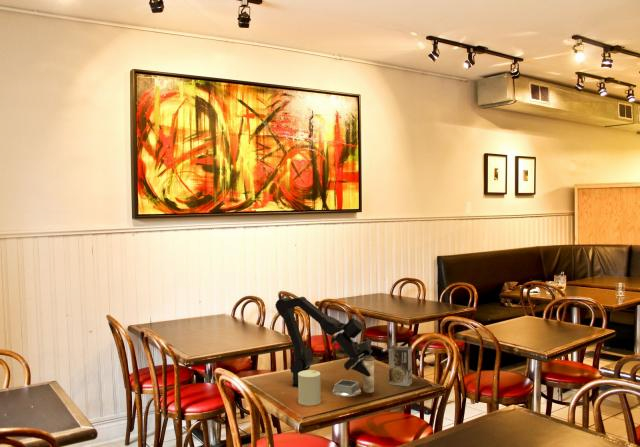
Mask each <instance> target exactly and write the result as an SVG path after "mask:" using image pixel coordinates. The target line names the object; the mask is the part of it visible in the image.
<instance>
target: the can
mask: <svg viewBox="0 0 640 447" xmlns="http://www.w3.org/2000/svg"><path fill="white" fill-rule="evenodd" d="M297 398H298V400H297V402H298V404H299V405H301V406H305V407H306V406H307V407H311V406H316V405H319V404H321V402H322V399H321V372H320V371H318V370H313V369H307V370H305V371H301V372H299V373H298V397H297Z"/></svg>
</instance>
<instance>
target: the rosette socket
mask: <svg viewBox="0 0 640 447" xmlns="http://www.w3.org/2000/svg"><path fill="white" fill-rule="evenodd" d="M333 386H334V387H333V389H332V394H333V395H335V396H337V397H343V398H353V397H357V396H359V395H361V394H362V390H361V388H360V381H357V380H349V379H342V378H341V380H339V381H337V382H336V383H335V384H333Z"/></svg>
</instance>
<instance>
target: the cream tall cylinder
mask: <svg viewBox="0 0 640 447" xmlns="http://www.w3.org/2000/svg"><path fill="white" fill-rule="evenodd" d="M363 364H364V366H365V367H366V369H367V370H368V371H369V373H370V376H369V377H368V376H366V375H364V374H362V375H363V382H362V384H363V388H362V389H363V392H365V393H373V392H375V373H374V371H375V357H374V356H372V355H370V356H364V357H363Z"/></svg>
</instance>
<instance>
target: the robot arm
mask: <svg viewBox="0 0 640 447" xmlns="http://www.w3.org/2000/svg"><path fill="white" fill-rule="evenodd" d="M297 307H298V308H299V309H301V310H302V311H303V312H304V313H306V314H307V315H308V316H309V317H310V318H312V319H313V320H314V321H316V323H318V324H319V325H320V328H321V329H322V331H324V333H325V334H326V335H328V336H331V341H330V343H331V345H333V344H335V343H336V344H337V345H338V346H339V348H341V350H342V354H343V355H346V356H347V357H348V359H347V360H346V361H345V362H344V363H343V367H344V369H345V370H346V371H348V370H353V371H356V372H358V373H360V374H362V375H363V374H364V375H366V376H368V377H369V376H370V373H369V371H368V370H367V369H366V367H365V366H364V364H363V357H364V356H372V355H371V353H373V349H372V347H373V346H372V342H373V341H372V340H371V339H369V338H368V337H365V338H363V339H362V342H357V341H354V340H353V339H356V337H357V336H358V335H360V334H361V333H362V331H364V329H365V327H364V325H363V324H362V322H361V321H359V320H358V319H355V318H354V317H351V318H350V319H349V321H348V322H346V323H343V322H341V321H340V320H339V319H336V318H335V317H333V316H331V315H328V314H325V313H324V312H323V311H321V310H320V309H319V308H318V307H317V306H316V305H314V304H313V303H311V301H310V300H308V299H307V298H306V297H305V296H299V297H294V298H292V297H288V296H286V297H283V298H279V299H278V300H277V301H276V302H275V309H276V311H277V313H278V314H279V316H281V318H282V319H283V321H284V323H285V326H286V329H287V332H288V335H289V339H290V341H291V344H292V347H293V351H294V355H293V359H294V360H293V361H294V363H293V364H292V365H291V366H290V368H289V369H290V372H291V373H292V385H291V387H296V388H297V387H298V373H299V372H301V371H305V370H310V369H311V366H312V365H313V363H314V355H313V352H312V349H311V348H308V347H306V345H305V342H304V339H303V337H302V334H301V332H300V329H299V325H298V323H297V319H296V317H295V313H296V312H295V309H296V308H297ZM335 334H336V335H335ZM374 374H375V370H374Z"/></svg>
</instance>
